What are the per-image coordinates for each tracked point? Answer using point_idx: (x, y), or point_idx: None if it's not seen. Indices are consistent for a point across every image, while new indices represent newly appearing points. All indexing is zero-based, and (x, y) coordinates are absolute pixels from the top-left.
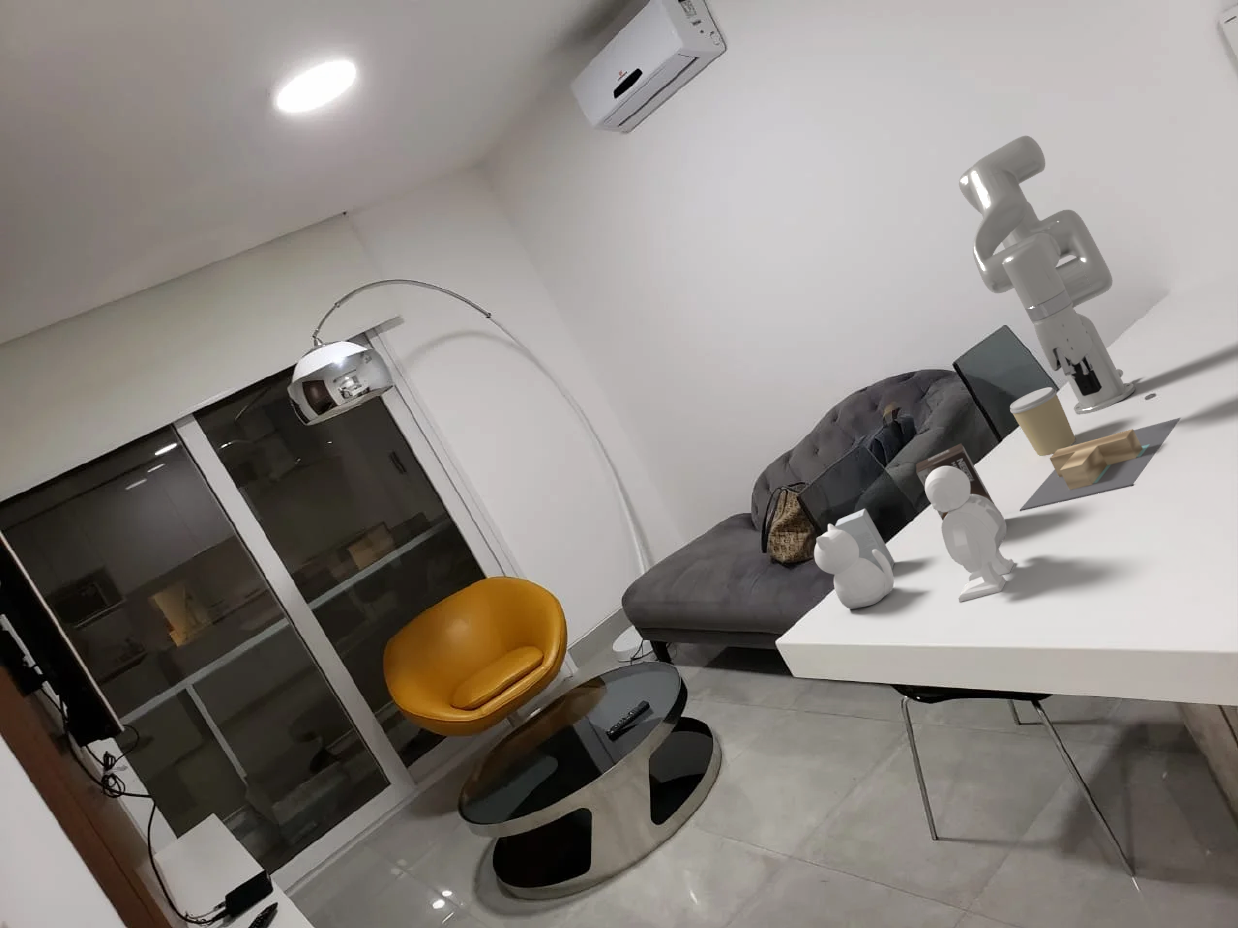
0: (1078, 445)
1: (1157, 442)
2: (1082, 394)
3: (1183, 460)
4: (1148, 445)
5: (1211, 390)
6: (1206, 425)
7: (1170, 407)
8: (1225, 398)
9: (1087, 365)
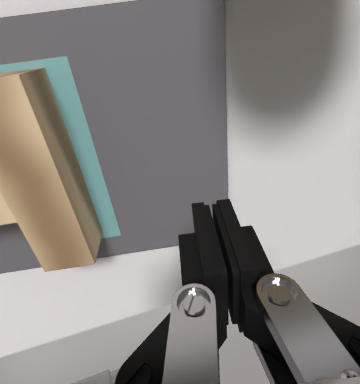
0: (35, 155)
1: (122, 246)
2: (192, 206)
3: (38, 306)
4: (115, 235)
5: (341, 231)
6: (166, 284)
7: (321, 185)
8: (272, 268)
9: (262, 357)
